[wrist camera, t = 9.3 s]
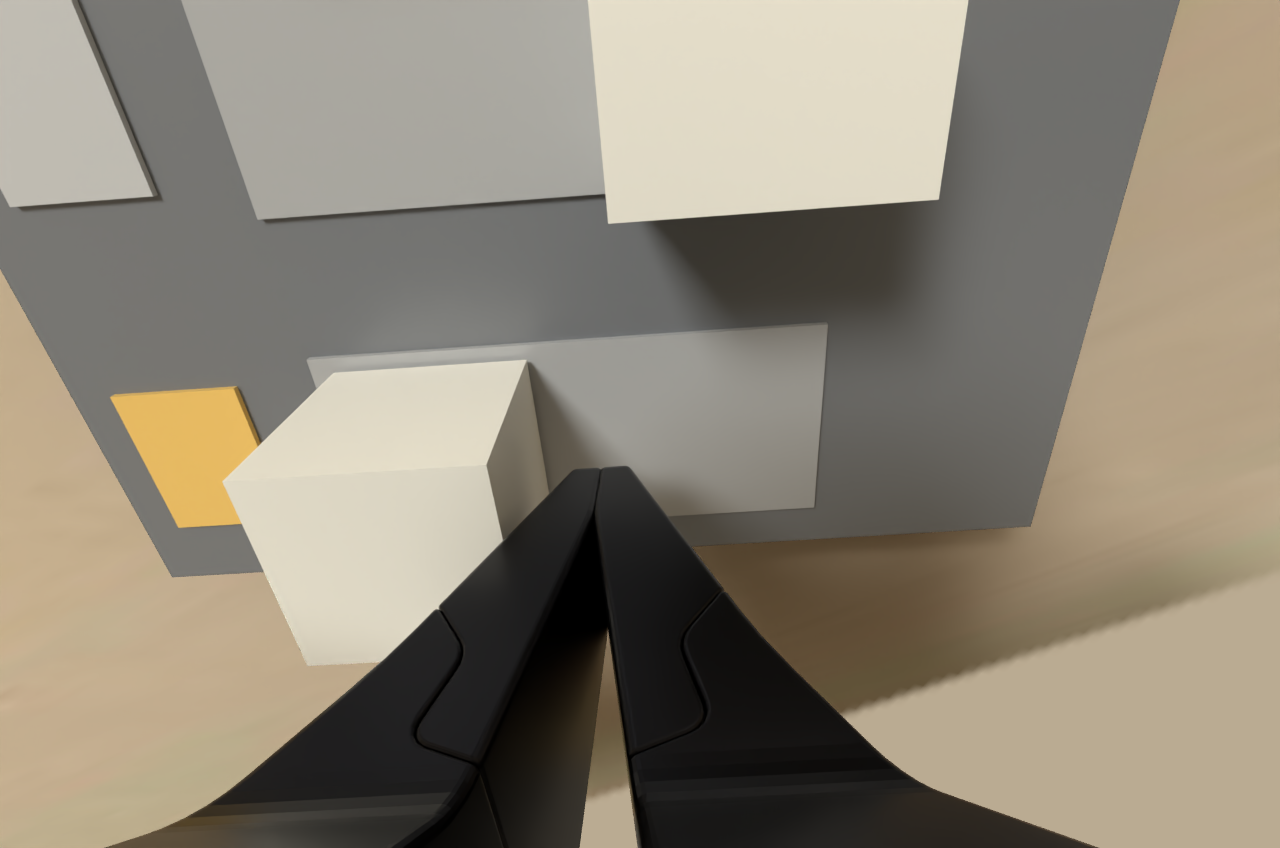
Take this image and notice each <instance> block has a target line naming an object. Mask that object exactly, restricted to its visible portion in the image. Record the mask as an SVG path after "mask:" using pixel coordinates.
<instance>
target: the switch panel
mask: <svg viewBox="0 0 1280 848" xmlns="http://www.w3.org/2000/svg"><path fill="white" fill-rule="evenodd" d="M1179 1H1180V0H968V7H967V14H966V20H965V27H964V34H963V40H962V47H961V54H960V60H959V67H958V74H957V80H956V87H955V94H954V100H953V107H952V114H951V120H950V127H949V134H948V141H947V147H946V154H945V161H944V167H943V174H942V181H941V187H940V194H939V200H927V201H913V202H900V203H886V204H872V205H859V206H845V207H831V208H818V209H804V210H790V211H777V212H763V213H749V214H736V215H722V216H708V217H695V218H681V219H667V220H654V221H640V222H626V223H613V224H608V217H607V206H606V195H605V184H604V173H603V162H602V151H601V140H600V129H599V118H598V107H597V96H596V85H595V74H594V63H593V52H592V41H591V31H590V20H589V9H588V0H0V269H1V271H2V273H3V275H4V276H5V278H6V280H7V282H8V284H9V285H10V287H11V289H12V291H13V293H14V294H15V296H16V298H17V300H18V302H19V303H20V305H21V307H22V309H23V311H24V312H25V314H26V316H27V318H28V319H29V321H30V323H31V325H32V327H33V328H34V330H35V332H36V334H37V336H38V337H39V339H40V341H41V343H42V345H43V346H44V348H45V350H46V352H47V354H48V355H49V357H50V359H51V361H52V363H53V364H54V366H55V368H56V370H57V372H58V373H59V375H60V377H61V379H62V380H63V382H64V384H65V386H66V388H67V389H68V391H69V393H70V395H71V397H72V398H73V400H74V402H75V404H76V406H77V407H78V409H79V411H80V413H81V415H82V416H83V418H84V420H85V422H86V424H87V425H88V427H89V429H90V431H91V432H92V434H93V436H94V438H95V440H96V441H97V443H98V445H99V447H100V449H101V450H102V452H103V454H104V456H105V458H106V459H107V461H108V463H109V465H110V467H111V468H112V470H113V472H114V474H115V476H116V477H117V479H118V481H119V483H120V485H121V486H122V488H123V490H124V492H125V493H126V495H127V497H128V499H129V501H130V502H131V504H132V506H133V508H134V510H135V511H136V513H137V515H138V517H139V519H140V520H141V522H142V524H143V526H144V528H145V529H146V531H147V533H148V535H149V537H150V538H151V540H152V542H153V544H154V545H155V547H156V549H157V551H158V553H159V554H160V556H161V558H162V560H163V562H164V563H165V565H166V567H167V569H168V571H169V572H170V574H171V576H172V577H186V576H203V575H220V574H237V573H253V572H264V571H263V569H262V566H261V564H260V562H259V560H258V558H257V556H256V554H255V551H254V549H253V547H252V545H251V543H250V541H249V538H248V536H247V534H246V532H245V530H244V528H243V526H242V523H241V521H240V519H239V517H238V515H237V513H236V510H235V508H234V506H233V504H232V502H231V500H230V497H229V495H228V493H227V491H226V489H225V487H224V485H223V482H222V481H223V480H224V479H225V478H226V477H227V476H228V475H229V474H230V473H231V472H232V471H234V470H235V469H236V468H237V467H238V466H239V465H240V464H241V463H242V462H243V461H244V460H245V459H246V458H247V457H248V456H249V455H250V454H251V453H252V452H253V451H254V450H255V449H256V448H257V447H258V446H259V445H260V444H261V443H262V442H263V441H264V440H265V439H266V438H267V437H268V436H269V435H270V434H271V433H272V432H273V431H274V430H275V429H276V428H277V427H278V426H280V425H281V424H282V423H283V422H284V421H285V420H286V419H287V418H288V417H289V416H290V415H291V414H292V413H293V412H294V411H295V410H296V409H297V408H298V407H299V406H300V405H301V404H302V403H303V402H304V401H305V400H306V399H307V398H308V397H309V396H310V395H311V394H312V393H313V392H314V391H315V390H316V389H317V388H318V387H319V386H320V385H321V384H322V383H323V382H325V381H326V380H327V379H328V378H329V377H330V376H331V375H332V374H333V373H337V372H352V371H367V370H381V369H396V368H411V367H426V366H440V365H455V364H470V363H485V362H500V361H514V360H527V365H528V371H529V376H530V382H531V388H532V394H533V400H534V406H535V412H536V418H537V424H538V430H539V436H540V442H541V448H542V454H543V460H544V466H545V472H546V478H547V484H548V490H549V493H550V492H551V491H552V490H553V489H554V488H555V487H556V486H557V485H558V484H559V483H560V482H561V481H562V480H563V479H564V478H565V477H566V476H567V475H568V474H569V473H570V472H571V471H572V470H574V469H582V468H600V469H602V468H604V467H612V466H628V467H630V468H631V469H632V470H633V472H634V473H635V474H636V476H637V477H638V478H639V480H640V481H641V482H642V483H643V485H644V486H645V487H646V489H647V490H648V491H649V493H650V494H651V495H652V496H653V498H654V499H655V500H656V502H657V503H658V504H659V506H660V507H661V508H662V509H663V511H664V512H665V513H666V515H667V516H668V517H669V519H670V520H671V521H672V522H673V524H674V525H675V526H676V528H677V529H678V530H679V532H680V533H681V534H682V535H683V537H684V538H685V539H686V541H687V542H688V543H689V545H690V546H691V547H692V546H709V545H726V544H743V543H760V542H777V541H794V540H811V539H828V538H844V537H861V536H878V535H895V534H912V533H929V532H946V531H963V530H979V529H996V528H1013V527H1030V526H1031V523H1032V520H1033V516H1034V513H1035V509H1036V506H1037V502H1038V499H1039V495H1040V491H1041V488H1042V484H1043V481H1044V477H1045V474H1046V470H1047V467H1048V463H1049V460H1050V456H1051V453H1052V449H1053V446H1054V442H1055V439H1056V435H1057V431H1058V428H1059V424H1060V421H1061V417H1062V414H1063V410H1064V407H1065V403H1066V400H1067V396H1068V393H1069V389H1070V386H1071V382H1072V379H1073V375H1074V371H1075V368H1076V364H1077V361H1078V357H1079V354H1080V350H1081V347H1082V343H1083V340H1084V336H1085V333H1086V329H1087V326H1088V322H1089V319H1090V315H1091V311H1092V308H1093V304H1094V301H1095V297H1096V294H1097V290H1098V287H1099V283H1100V280H1101V276H1102V273H1103V269H1104V266H1105V262H1106V259H1107V255H1108V252H1109V248H1110V244H1111V241H1112V237H1113V234H1114V230H1115V227H1116V223H1117V220H1118V216H1119V213H1120V209H1121V206H1122V202H1123V199H1124V195H1125V192H1126V188H1127V184H1128V181H1129V177H1130V174H1131V170H1132V167H1133V163H1134V160H1135V156H1136V153H1137V149H1138V146H1139V142H1140V139H1141V135H1142V132H1143V128H1144V124H1145V121H1146V117H1147V114H1148V110H1149V107H1150V103H1151V100H1152V96H1153V93H1154V89H1155V86H1156V82H1157V79H1158V75H1159V72H1160V68H1161V65H1162V61H1163V57H1164V54H1165V50H1166V47H1167V43H1168V40H1169V36H1170V33H1171V29H1172V26H1173V22H1174V19H1175V15H1176V12H1177V8H1178V5H1179Z"/></svg>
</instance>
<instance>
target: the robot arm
mask: <svg viewBox="0 0 1280 848" xmlns="http://www.w3.org/2000/svg"><path fill="white" fill-rule="evenodd" d="M607 632H609V639H610V647H611V654H612V661H613V669H614V676H615V684H616V691H617V698H618V706H619V713H620V720H621V728H622V735H623V743H624V750H625V757H626V765H627V772H628V779H629V787H630V794H631V801H632V809H633V816H634V824H635V831H636V838H637V845H638V848H1098V847H1095V846H1092V845H1089V844H1086V843H1084V842H1081V841H1078V840H1075V839H1072V838H1069V837H1067V836H1064V835H1061V834H1058V833H1055V832H1053V831H1050V830H1047V829H1044V828H1041V827H1038V826H1036V825H1032V824H1030V823H1027V822H1024V821H1021V820H1019V819H1016V818H1013V817H1010V816H1007V815H1005V814H1002V813H999V812H996V811H993V810H990V809H987V808H985V807H982V806H979V805H976V804H973V803H971V802H968V801H965V800H962V799H959V798H956V797H954V796H951V795H948V794H945V793H942V792H940V791H937V790H935V789H932V788H930V787H928V786H926V785H925V784H923V783H920V782H919V781H917V780H915V779H914V778H913V777H911V776H909V775H908V774H906V773H905V772H903V771H902V770H900V769H899V768H898V767H897V766H895V765H894V764H893V763H892V762H890V761H889V760H888V759H886V758H885V757H884V756H883V755H881V753H879V751H877V750H876V749H875V748H874V747H873V746H872V745H871V744H870V743H869V742H868V741H867V740H866V739H865V738H864V737H863V736H861V734H860V733H859V732H858V731H857V730H856V729H854V728H853V727H852V726H851V725H850V724H849V723H848V722H847V721H846V720H845V719H844V718H843V717H842V716H841V715H840V714H839V713H838V712H837V711H836V710H835V709H834V708H833V707H832V706H831V705H830V704H829V703H828V702H827V701H826V700H825V699H824V698H823V697H822V696H821V695H820V694H819V693H818V692H817V691H816V690H815V689H814V688H813V687H812V686H811V685H809V684H808V683H807V682H806V681H805V680H804V679H803V678H802V677H801V676H800V675H799V674H798V673H797V672H796V671H795V670H794V669H793V668H792V667H791V666H790V665H789V664H788V663H787V662H786V661H785V660H784V659H783V658H782V657H781V656H780V655H779V653H778V652H777V651H776V650H775V649H774V648H773V647H772V646H771V645H770V644H769V643H768V642H767V641H766V640H765V639H764V638H763V637H762V636H761V634H760V633H759V632H758V631H757V630H756V628H755V627H754V626H753V625H752V624H751V622H750V621H749V620H748V619H747V618H746V617H745V615H744V614H743V613H742V612H741V610H740V609H739V608H738V607H737V605H736V604H735V603H734V601H733V600H732V599H731V597H730V596H729V595H728V593H726V592H724V589H723V587H722V586H721V585H720V584H719V582H718V581H717V580H716V578H715V577H714V576H713V574H712V573H711V572H710V571H709V569H708V568H707V567H706V565H705V564H704V563H703V561H702V560H701V559H700V558H699V556H698V555H697V554H696V552H695V551H694V550H693V548H692V547H691V546H690V545H689V543H688V542H687V541H686V539H685V538H684V537H683V535H682V534H681V533H680V532H679V530H678V529H677V528H676V526H675V525H674V524H673V522H672V521H671V520H670V519H669V517H668V516H667V515H666V513H665V512H664V511H663V509H662V508H661V507H660V506H659V504H658V503H657V502H656V500H655V499H654V498H653V496H652V495H651V494H650V493H649V491H648V490H647V489H646V487H645V486H644V485H643V483H642V482H641V481H640V480H639V478H638V477H637V476H636V474H635V473H634V472H633V470H632V469H631V468H630V467H628V466H612V467H604V468H602V469H600V468H582V469H574V470H572V471H571V472H570V473H569V474H568V475H567V476H566V477H565V478H564V479H563V480H562V481H561V482H560V483H559V484H558V485H557V486H556V487H555V488H554V489H553V490H552V491H551V492H550V493H549V494H548V495H547V496H546V497H545V498H544V499H543V500H542V501H541V502H540V503H539V504H538V506H537V507H536V508H535V509H534V510H533V511H532V512H531V513H530V514H529V515H528V516H527V517H526V518H525V519H524V520H523V521H522V522H521V523H520V524H519V525H518V526H517V527H516V528H515V529H514V530H513V531H512V532H511V533H510V534H509V535H508V536H507V537H506V538H505V539H504V540H503V541H502V542H501V543H500V544H499V545H498V546H497V547H496V548H495V549H494V550H493V551H492V552H491V553H490V554H489V555H488V556H487V557H486V558H485V559H484V560H483V561H482V562H481V563H480V564H479V565H478V566H477V567H476V568H475V569H474V570H473V571H472V572H471V573H470V574H469V575H468V576H467V578H466V579H465V580H464V581H463V582H462V583H461V584H460V585H459V586H458V587H457V588H456V589H455V590H454V591H453V592H452V593H451V594H450V595H449V596H448V597H447V598H446V599H445V600H444V601H443V602H442V603H441V604H440V605H439V609H435V610H434V611H433V612H432V613H431V614H430V615H429V616H428V617H427V618H426V619H425V620H424V621H423V622H422V623H421V624H420V625H419V626H418V627H417V628H416V629H415V630H414V631H413V632H412V633H411V634H410V635H409V636H408V637H407V638H405V639H404V640H403V641H402V642H401V643H400V644H399V645H398V646H397V647H396V648H395V649H394V650H393V651H392V652H391V653H390V654H389V655H388V656H387V657H386V658H385V659H384V660H382V661H381V662H380V663H379V664H378V665H377V666H376V667H374V668H373V669H372V670H371V671H370V672H369V673H368V674H367V675H365V676H364V677H363V678H362V679H361V680H360V681H359V682H357V683H356V684H355V685H354V686H353V687H352V688H351V689H349V690H348V691H347V692H346V693H345V694H344V695H342V696H341V697H340V698H339V699H338V700H337V701H335V702H334V703H333V704H332V705H331V706H329V707H328V708H327V709H326V710H325V711H323V712H322V713H321V714H320V715H319V716H318V717H316V718H315V719H314V720H313V721H312V722H310V723H309V724H308V725H307V726H306V727H305V728H303V729H302V730H301V731H300V732H299V733H297V734H296V735H295V736H294V737H293V738H292V739H290V740H289V741H288V742H287V743H286V744H284V745H283V746H282V747H281V748H280V749H278V750H277V751H276V752H275V753H274V754H273V755H271V756H270V757H269V758H268V759H267V760H265V761H264V762H263V763H262V764H261V765H260V766H258V767H257V768H256V769H255V770H254V771H252V772H251V773H250V774H249V775H248V776H246V777H245V778H244V779H243V780H241V781H240V782H239V783H238V784H236V785H235V786H234V787H233V788H231V789H230V790H229V791H227V792H226V793H225V794H223V795H222V796H220V797H219V798H217V799H216V800H214V801H213V802H211V803H210V804H208V805H207V806H205V807H204V808H202V809H200V810H198V811H196V812H195V813H193V814H191V815H189V816H188V817H186V818H184V819H182V820H179V821H177V822H175V823H173V824H171V825H168V826H166V827H164V828H162V829H159V830H157V831H154V832H151V833H148V834H146V835H143V836H140V837H137V838H133V839H130V840H127V841H124V842H121V843H118V844H115V845H112V846H109V847H106V848H579V847H580V839H581V832H582V824H583V817H584V809H585V801H586V794H587V786H588V778H589V771H590V763H591V756H592V748H593V740H594V733H595V725H596V717H597V710H598V702H599V694H600V687H601V679H602V671H603V664H604V656H605V648H606V641H607Z"/></svg>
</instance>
